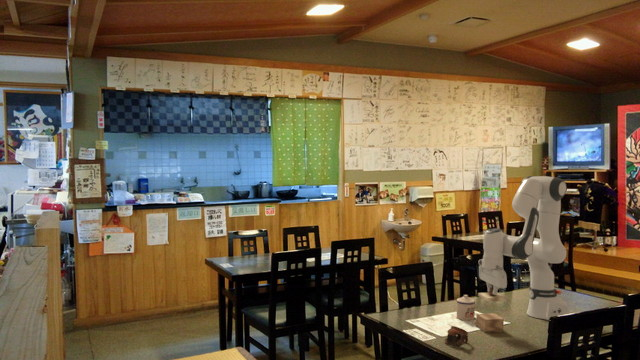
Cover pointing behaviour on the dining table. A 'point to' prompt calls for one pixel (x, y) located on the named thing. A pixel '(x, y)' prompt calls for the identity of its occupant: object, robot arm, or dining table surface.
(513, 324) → the dining table surface
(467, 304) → the teacup with lid
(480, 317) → the box body
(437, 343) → the dining table surface
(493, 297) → the lid
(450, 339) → the brown lumpy figurine
